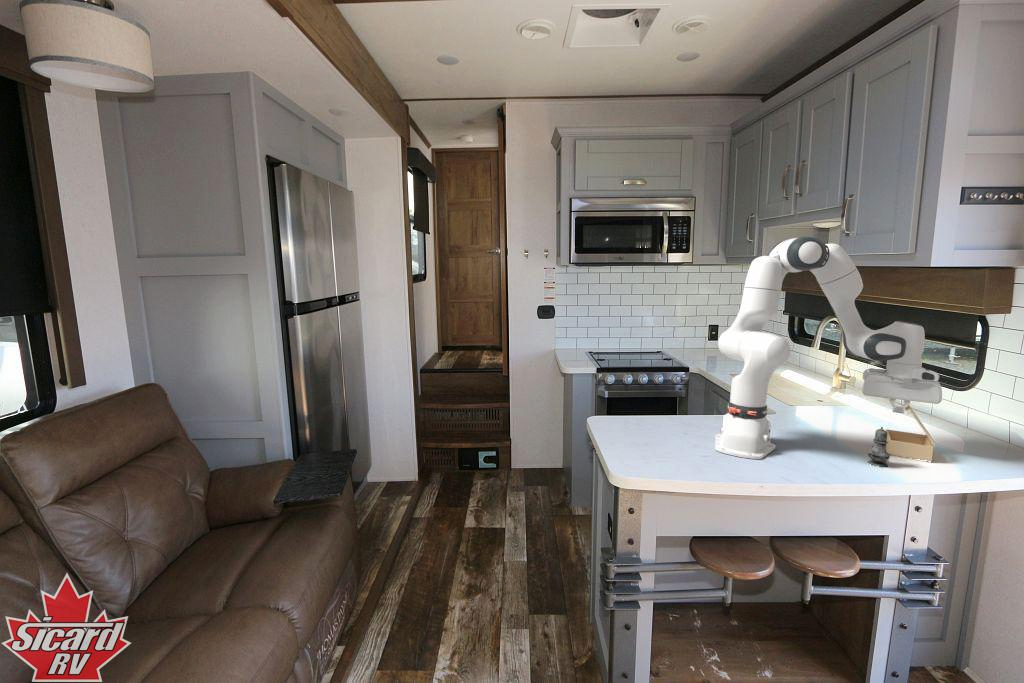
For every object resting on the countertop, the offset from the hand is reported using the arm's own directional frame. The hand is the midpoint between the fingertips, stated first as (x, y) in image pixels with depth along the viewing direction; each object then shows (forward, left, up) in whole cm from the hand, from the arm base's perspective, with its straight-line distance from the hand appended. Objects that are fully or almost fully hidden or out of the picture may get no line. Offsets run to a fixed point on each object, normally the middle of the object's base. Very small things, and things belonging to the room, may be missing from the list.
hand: (898, 412), depth 158 cm
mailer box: (+1, -3, -13) cm, 14 cm away
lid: (+1, -5, -4) cm, 6 cm away
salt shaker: (-17, +5, -14) cm, 22 cm away
